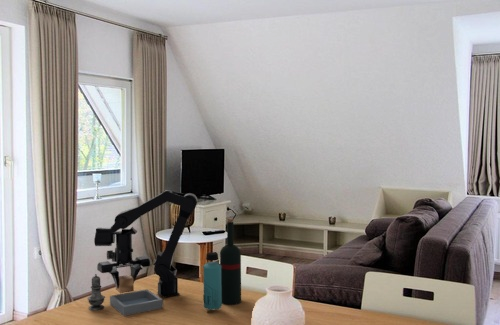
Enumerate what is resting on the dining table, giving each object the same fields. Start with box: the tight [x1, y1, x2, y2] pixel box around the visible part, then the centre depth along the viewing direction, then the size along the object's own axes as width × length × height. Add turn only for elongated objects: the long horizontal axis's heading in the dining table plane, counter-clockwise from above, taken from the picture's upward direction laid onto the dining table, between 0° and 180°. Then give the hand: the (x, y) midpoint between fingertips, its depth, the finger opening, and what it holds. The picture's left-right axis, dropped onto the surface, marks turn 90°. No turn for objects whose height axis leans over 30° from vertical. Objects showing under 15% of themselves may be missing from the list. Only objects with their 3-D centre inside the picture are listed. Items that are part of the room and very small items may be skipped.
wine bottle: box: [219, 217, 242, 306], centre depth 190 cm, size 8×10×30 cm
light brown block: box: [115, 274, 135, 294], centre depth 197 cm, size 5×5×5 cm
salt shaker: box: [87, 273, 106, 311], centre depth 183 cm, size 6×6×12 cm
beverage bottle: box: [202, 251, 223, 310], centre depth 179 cm, size 6×7×20 cm
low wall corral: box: [109, 289, 164, 317], centre depth 185 cm, size 14×14×3 cm
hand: (124, 287), depth 197 cm, fingers closed on light brown block, 5 cm apart
